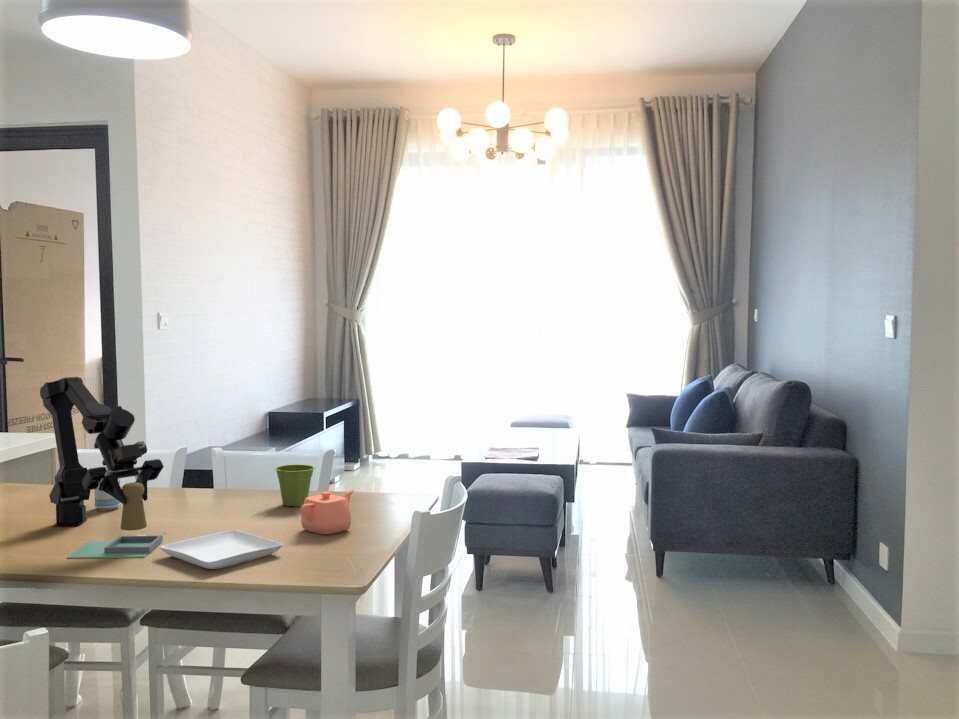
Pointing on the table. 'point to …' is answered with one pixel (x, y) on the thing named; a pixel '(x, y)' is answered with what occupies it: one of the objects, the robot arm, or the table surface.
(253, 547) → the salad plate
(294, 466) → the plant pot
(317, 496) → the teapot
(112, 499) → the beverage can
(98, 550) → the board
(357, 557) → the table surface
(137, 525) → the cork
